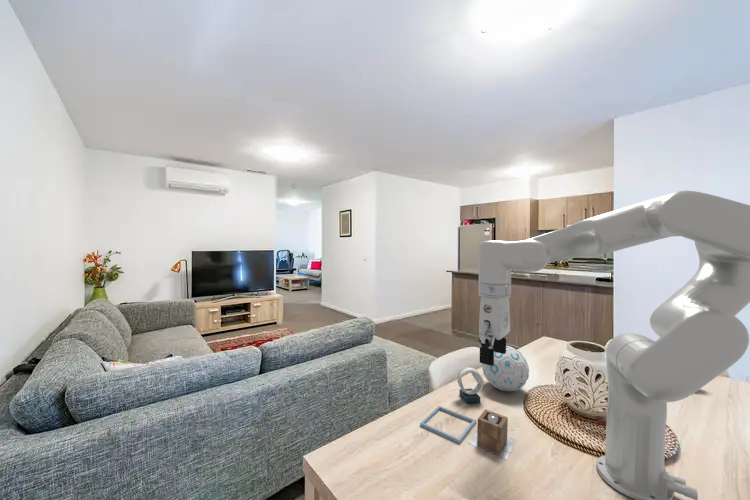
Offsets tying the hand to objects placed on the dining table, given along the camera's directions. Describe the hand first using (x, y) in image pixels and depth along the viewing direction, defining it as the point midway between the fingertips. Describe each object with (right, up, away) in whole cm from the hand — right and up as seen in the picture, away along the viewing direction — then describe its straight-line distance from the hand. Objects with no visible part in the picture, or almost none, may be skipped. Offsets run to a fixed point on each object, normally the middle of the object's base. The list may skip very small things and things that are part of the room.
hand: (493, 358), depth 74 cm
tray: (-10, -22, +7) cm, 25 cm away
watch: (+1, -22, +20) cm, 30 cm away
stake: (0, -22, 0) cm, 22 cm away
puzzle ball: (+16, -22, +30) cm, 40 cm away
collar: (0, -21, 0) cm, 21 cm away
